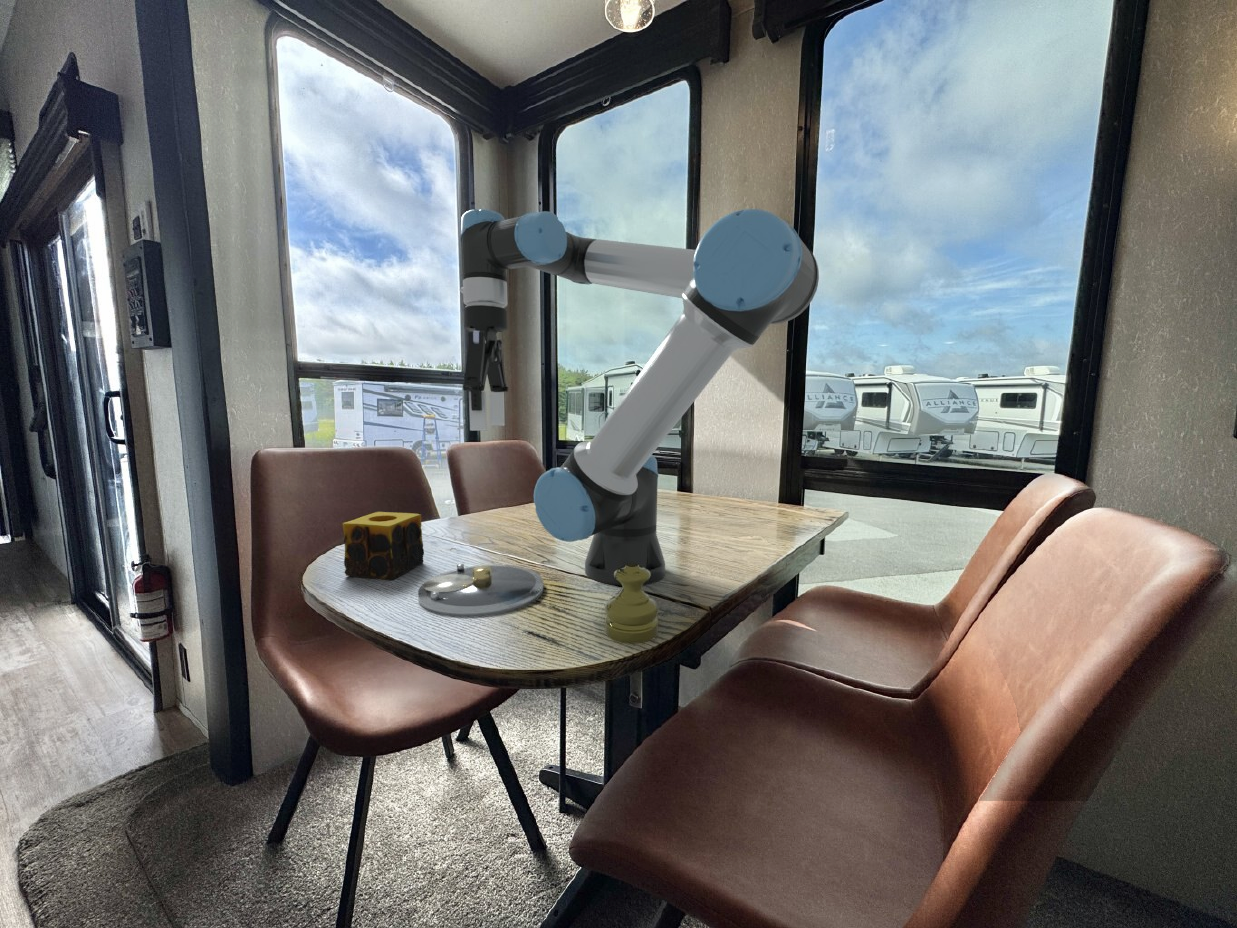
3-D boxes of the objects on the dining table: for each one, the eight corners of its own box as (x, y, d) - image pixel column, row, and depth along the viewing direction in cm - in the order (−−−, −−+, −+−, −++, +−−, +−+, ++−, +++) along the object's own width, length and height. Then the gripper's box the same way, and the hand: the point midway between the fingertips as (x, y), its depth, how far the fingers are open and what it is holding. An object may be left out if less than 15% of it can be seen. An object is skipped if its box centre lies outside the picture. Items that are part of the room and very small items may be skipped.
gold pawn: (669, 635, 70) (671, 565, 69) (631, 654, 65) (632, 578, 63) (631, 618, 75) (632, 553, 74) (593, 634, 70) (593, 564, 69)
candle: (393, 581, 90) (390, 526, 88) (343, 577, 91) (339, 523, 90) (425, 563, 99) (423, 513, 98) (380, 559, 101) (377, 510, 100)
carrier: (550, 571, 95) (549, 551, 94) (533, 618, 75) (532, 592, 74) (442, 571, 95) (442, 550, 94) (397, 617, 75) (395, 591, 74)
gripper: (482, 318, 102) (485, 424, 104) (439, 292, 77) (445, 432, 80) (520, 318, 102) (521, 424, 104) (489, 293, 77) (493, 433, 80)
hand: (488, 428), depth 92 cm, fingers open, 13 cm apart
